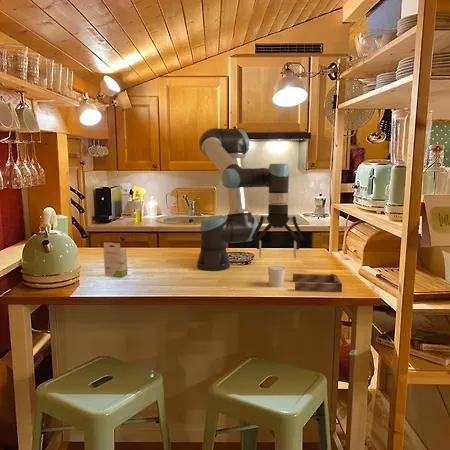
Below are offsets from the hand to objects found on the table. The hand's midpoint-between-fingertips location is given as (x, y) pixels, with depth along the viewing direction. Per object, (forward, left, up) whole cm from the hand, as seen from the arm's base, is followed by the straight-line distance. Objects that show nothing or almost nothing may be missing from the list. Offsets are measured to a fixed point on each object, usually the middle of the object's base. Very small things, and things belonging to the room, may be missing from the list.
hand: (277, 257), depth 168 cm
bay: (+15, 0, -11) cm, 19 cm away
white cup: (0, 0, -12) cm, 12 cm away
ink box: (-68, +7, -12) cm, 70 cm away
